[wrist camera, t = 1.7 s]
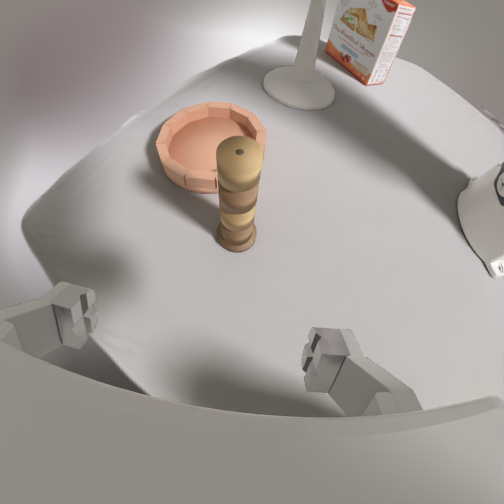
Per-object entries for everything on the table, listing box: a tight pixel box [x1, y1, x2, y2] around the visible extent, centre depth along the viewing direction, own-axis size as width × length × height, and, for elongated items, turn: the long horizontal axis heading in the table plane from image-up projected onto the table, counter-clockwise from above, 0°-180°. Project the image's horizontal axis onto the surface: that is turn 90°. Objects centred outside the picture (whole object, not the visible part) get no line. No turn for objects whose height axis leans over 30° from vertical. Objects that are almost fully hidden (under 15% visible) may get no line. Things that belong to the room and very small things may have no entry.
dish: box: [156, 102, 266, 194], centre depth 36 cm, size 14×14×3 cm
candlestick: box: [263, 0, 335, 110], centre depth 31 cm, size 13×13×30 cm
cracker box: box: [325, 0, 416, 85], centre depth 40 cm, size 14×6×21 cm, turn 28°
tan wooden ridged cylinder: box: [216, 136, 263, 252], centre depth 27 cm, size 4×4×14 cm
